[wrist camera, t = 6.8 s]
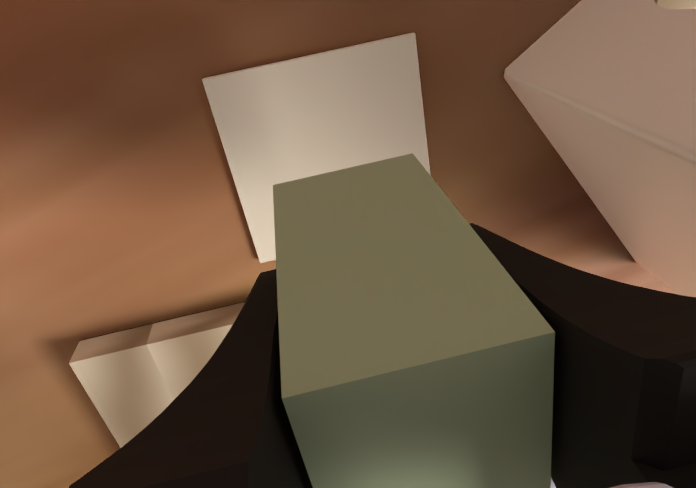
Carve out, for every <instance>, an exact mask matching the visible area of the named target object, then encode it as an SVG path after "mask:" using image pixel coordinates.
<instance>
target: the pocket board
mask: <svg viewBox="0 0 696 488" xmlns="http://www.w3.org/2000/svg"><path fill="white" fill-rule="evenodd" d="M244 304H245V302H243V303H239V304H235V305H230V306H226V307H222V308H218V309H213V310H209V311H205V312H201V313H196V314H192V315H188V316H184V317H179V318H175V319H171V320H167V321H162V322H158V323H154V324H150V325H145V326H141V327H137V328H133V329H129V330H124V331H120V332H116V333H112V334H107V335H103V336H99V337H95V338H90V339H86V340H82V341H79V343H78V345H77V347H76V349H75V351H74V353H73V355H72V357H71V359H70V361H69V365H70V366H71V368H72V369H73V371H74V373H75V374H76V376H77V378H78V379H79V381H80V383H81V384H82V386H83V387H84V389H85V391H86V392H87V394H88V396H89V397H90V399H91V400H92V402H93V404H94V405H95V407H96V409H97V410H98V412H99V414H100V415H101V417H102V418H103V420H104V422H105V423H106V425H107V427H108V428H109V430H110V432H111V433H112V435H113V436H114V438H115V440H116V441H117V443H118V445H119V446H120V448H121V447H123V446H124V445H125V444H126V443H128V442H129V441H130V440H131V439H132V438H134V437H135V436H136V435H137V434H138V433H139V432H141V431H142V430H143V429H144V428H145V427H146V426H147V425H149V424H150V423H151V422H152V421H153V420H154V419H155V418H156V417H157V416H158V415H160V414H161V413H162V412H163V411H164V410H165V409H166V408H167V407H168V406H169V405H170V403H171V402H172V401H173V400H174V399H175V398H176V397H177V396H178V395H179V394H180V393H181V392H182V391H183V390H184V389H185V388H186V387H187V386H188V385H189V384H190V383H191V382H192V380H193V379H194V378H195V377H196V376H197V374H198V373H199V372H200V371H201V370H202V368H203V367H204V366H205V365H206V364H207V362H208V361H209V360H210V358H211V357H212V355H213V354H214V353H215V351H216V350H217V348H218V347H219V345H220V344H221V342H222V341H223V339H224V338H225V336H226V335H227V333H228V332H229V330H230V328H231V327H232V325H233V323H234V321H235V320H236V318H237V316H238V314H239V313H240V311H241V309H242V307H243V306H244Z"/></svg>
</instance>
